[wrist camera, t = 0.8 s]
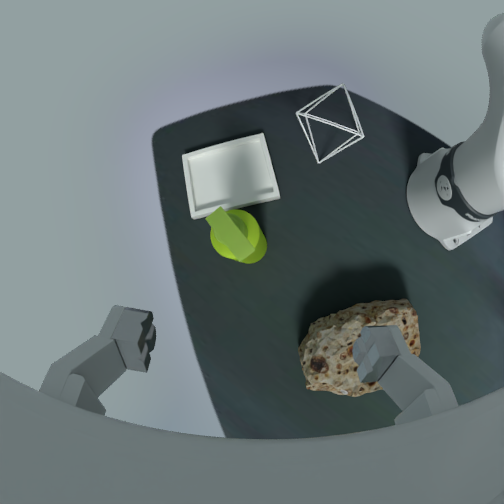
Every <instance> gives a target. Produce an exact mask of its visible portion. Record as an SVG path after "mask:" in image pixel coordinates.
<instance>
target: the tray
mask: <svg viewBox="0 0 504 504" xmlns="http://www.w3.org/2000/svg"><path fill="white" fill-rule="evenodd" d="M182 159H183V166H184V173H185V180H186V187H187V194H188V200H189V206H190V212H191V218H193V219H199V218H203V217H206V216H209V215H210V214H211V213H213V212H214V211H215V210H216V209H217V208H219V207H220V206H221V207H222V208H223V209H224V211H225V212H226V211H228V210H233V209H238V208H242V207H246V206H250V205H255V204H259V203H263V202H267V201H272V200H276V199H280V194H279V190H278V186H277V182H276V178H275V174H274V171H273V167H272V163H271V159H270V156H269V152H268V148H267V145H266V141H265V137H264V134H263V133H261V134H257V135H253V136H249V137H245V138H240V139H237V140H233V141H229V142H225V143H221V144H218V145H214V146H211V147H207V148H204V149H200V150H197V151H194V152H191V153H187V154H184V155H182Z"/></svg>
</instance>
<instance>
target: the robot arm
mask: <svg viewBox="0 0 504 504" xmlns="http://www.w3.org/2000/svg"><path fill="white" fill-rule="evenodd" d="M482 54H483V57H484V60H485V63H486V67H487V70H488V76H489V83H490V98H489V106H488V111H487V114H486V117H485V119H484V121H483V123H482V124H481V125H480V127H479V128H478V129H477V130H476V131H475V132H474V133H473V134H472V136H470V137H469V138H468V139H467V140H466V141H465V142H460V143H459V144H457V145H455V146H453V147H452V148H448V149H445V148H440V149H439V150H437V151H436V152H434V153H433V154H429V153H422V154H421V155H420V156H419V158H418V162H417V167H416V169H415V170H414V172H413V173H412V174H411V176H410V178H409V181H408V185H407V201H408V205H409V209H410V211H411V214H412V216H413V218H414V220H415V221H416V223H417V224H418V225H419V226H420V228H421V229H422V230H423V231H424V232H426V233H427V234H429V235H430V236H432V237H434V238H436V239H438V240H439V241H440V242H441V244H442V245H443V246H444V247H445V248H446V249H447V250H452V249H454V248H456V247H457V246H459V245H460V244H462V243H463V242H465V241H466V240H468V239H469V238H471V237H472V236H474V235H475V234H477V233H478V232H480V231H481V230H483V229H484V228H485V227H487V226H488V225H490V224H491V223H492V219H493V216H494V215H496V214H497V213H498V212H499V211H502V210H504V13H502V14H499V15H497V16H495V17H493V18H492V19H491V20H490V21H489V22H488V24H487V25H486V27H485V29H484V32H483V35H482ZM453 240H455V242H454V241H453ZM152 321H153V314H152V312H151V311H145V310H140V309H134V308H129V307H123V306H117V305H115V306H113V307H112V309H111V311H110V313H109V315H108V317H107V319H106V321H105V323H104V325H103V327H102V329H101V331H100V333H99V335H98V336H96V335H95V336H93V337H92V338H90V339H89V340H87V341H86V342H84V343H83V344H81V345H80V346H78V347H77V348H75V349H74V350H72V351H71V352H69V353H68V354H66V355H65V356H63V357H62V358H60V359H59V360H58V361H56V362H54V363H53V364H51V366H50V368H49V371H48V372H47V375H46V377H45V379H44V381H43V383H42V386H41V388H40V390H39V391H37V390H35V389H33V388H30V387H29V386H27V385H24V384H22V383H20V382H19V381H16V380H15V379H13V378H11V377H9V376H7V375H5V374H3V373H2V372H0V504H504V387H503V388H500V389H498V390H496V391H494V392H492V393H490V394H487V395H485V396H483V397H481V398H478V399H476V400H473V401H471V402H469V403H466V404H463V405H461V406H458V403H457V401H456V398H455V396H454V393H453V391H452V389H451V386H450V384H449V383H448V382H447V381H446V380H445V379H443V378H442V377H441V376H440V375H439V374H437V373H436V372H435V371H434V370H433V369H431V368H430V367H429V366H428V365H427V364H425V363H424V362H423V361H422V360H421V359H419V358H418V357H417V356H416V355H414V354H411V353H410V351H409V348H408V346H407V344H406V342H405V340H404V338H403V335H402V333H401V331H400V329H399V327H398V326H397V325H386V326H385V325H380V326H364V327H363V328H362V330H361V332H360V333H361V336H360V337H359V338H358V339H356V341H355V343H354V345H353V350H352V352H353V359H354V361H355V362H356V363H357V364H358V365H359V366H358V368H357V373H358V376H359V380H360V383H365V382H378V384H379V385H380V386H381V387H382V388H383V389H384V390H385V392H386V393H387V394H388V395H389V396H390V397H391V398H392V400H393V401H394V402H395V403H396V404H397V405H398V406H399V408H400V409H401V410H402V411H403V412H401V413H400V414H399V415H398V416H397V417H396V418H395V420H394V421H395V425H394V426H390V427H385V428H380V429H375V430H370V431H364V432H358V433H351V434H344V435H336V436H326V437H315V438H300V439H237V438H221V437H211V436H200V435H193V434H186V433H179V432H173V431H167V430H161V429H156V428H150V427H146V426H142V425H137V424H133V423H129V422H125V421H121V420H118V419H114V418H110V417H107V416H105V412H106V409H105V408H104V406H103V405H102V403H101V402H100V401H99V399H98V397H99V396H100V395H101V394H102V393H103V392H104V391H105V390H106V389H107V388H108V387H109V386H110V385H111V384H112V383H113V382H115V381H116V380H117V379H118V378H119V377H120V376H121V375H122V374H123V373H124V372H125V371H126V369H129V370H135V371H141V372H147V370H148V367H149V363H150V360H151V357H150V354H149V353H150V352H151V351H152V350H153V349H154V346H155V341H156V329H155V326H154V325H153V324H152Z"/></svg>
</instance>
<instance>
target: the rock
mask: <svg viewBox="0 0 504 504" xmlns="http://www.w3.org/2000/svg"><path fill="white" fill-rule="evenodd" d="M380 325H385V326H386V325H397V326H398V327H399V329H400V331H401V333H402V335H403V338H404V340H405V342H406V344H407V346H408V348H409V351H410V353H411V354H414V355H416V356H417V357H418V356H419V354H420V338H419V328H418V316H417V313H416V311H415V309H414V308H413V306H412V304H410V303H409V301H408V300H407V299H401V300H388V301H377V300H375V301H373V302H370V303H359V304H355V305H354V306H352V307H349V308H347V309H345V310H342V311H341V310H340V311H339V312H338V313H337V314H330V316H326V317H322V318H320V319H318V320H317V321H315V322H313V323H311V326H310V328H309V332H308V334H307V335H306V337H305V338H304V339H303V341H302V343H301V344H300V346H299V347H298V352H299V355H300V361H301V364H302V370H303V371H304V375H305V376H306V383H305V384H306V387H307V389H311V390H313V391H315V390H322V391H323V390H326V391H331V392H333V393H336V394H338V395H344V394H345V395H349V396H353V397H357V396H360V395H363V394H364V393H369V392H373V391H376V390H380V389H383V388H382V387H381V386H380V385H379V384H378V382H365V383H360V380H359V376H358V373H357V368H358V366H359V365H358V364H357V363H356V362H355V361H354V359H353V352H352V350H353V345H354V343H355V341H356V339H358V338H359V337H360V336H361V333H360V332H361V330H362V328H363V327H364V326H380Z"/></svg>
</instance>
